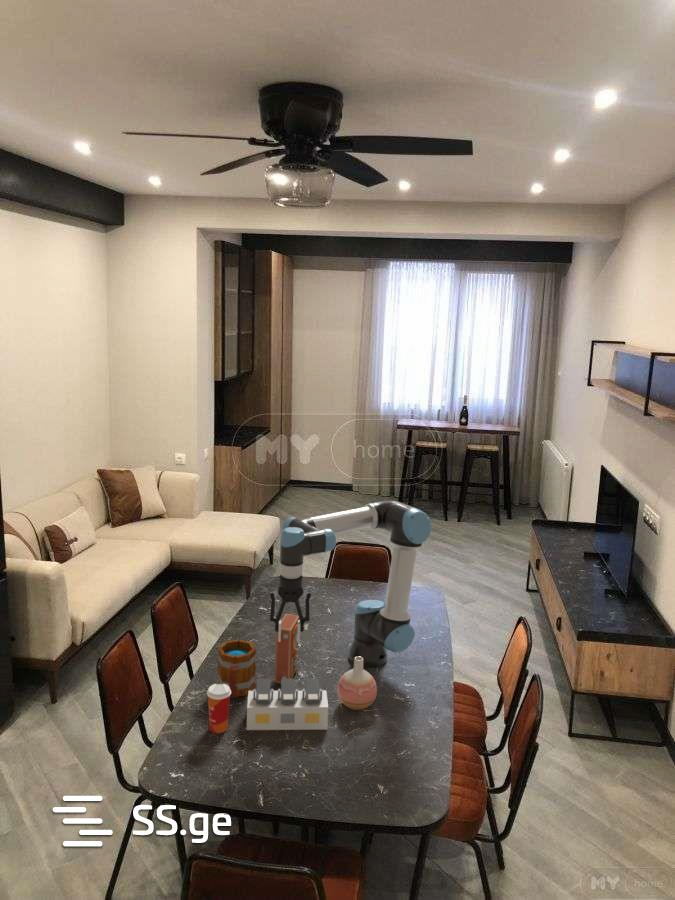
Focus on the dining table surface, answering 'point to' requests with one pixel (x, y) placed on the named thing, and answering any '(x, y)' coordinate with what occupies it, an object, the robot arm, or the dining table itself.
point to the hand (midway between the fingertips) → (288, 639)
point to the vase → (357, 687)
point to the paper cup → (218, 707)
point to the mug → (237, 666)
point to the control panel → (286, 648)
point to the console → (287, 713)
